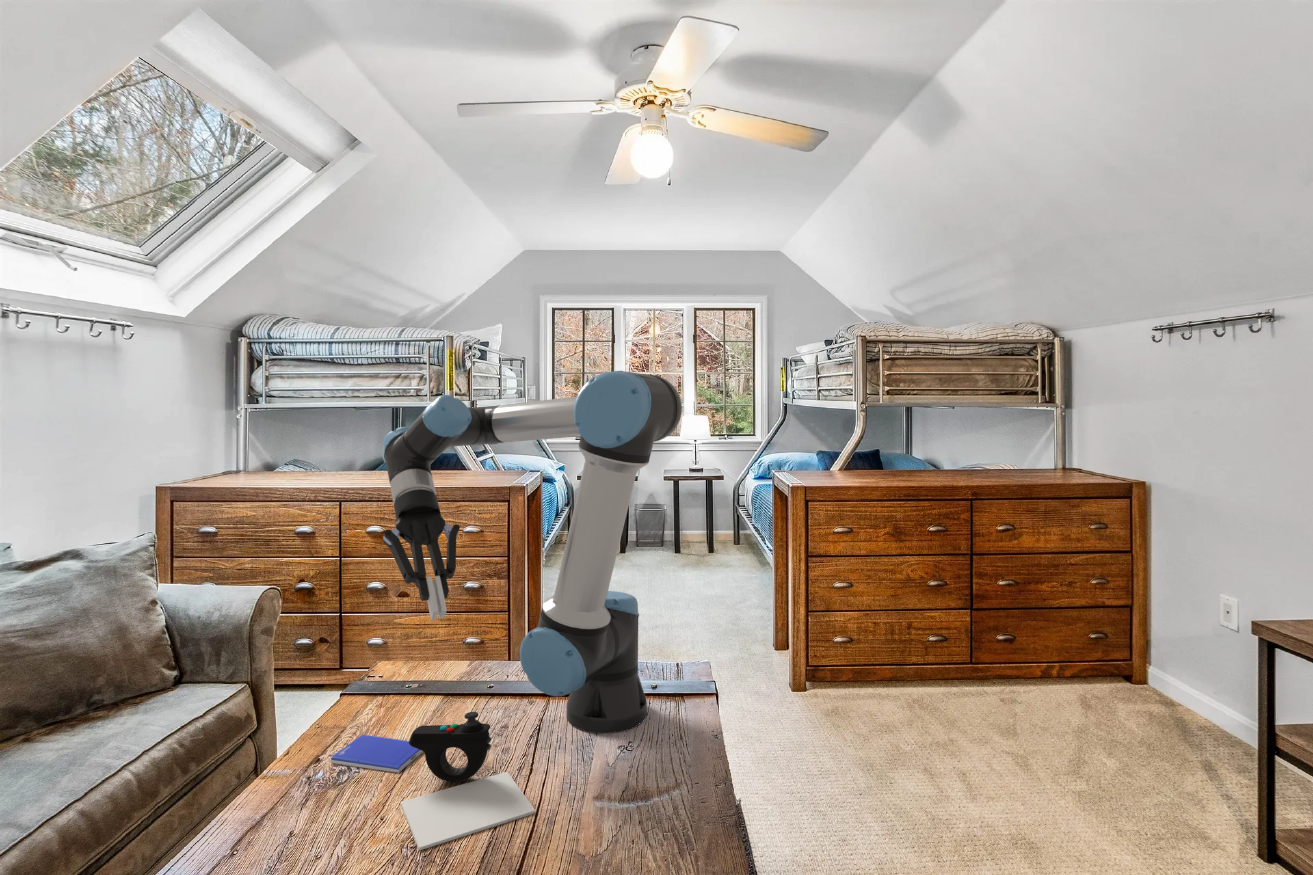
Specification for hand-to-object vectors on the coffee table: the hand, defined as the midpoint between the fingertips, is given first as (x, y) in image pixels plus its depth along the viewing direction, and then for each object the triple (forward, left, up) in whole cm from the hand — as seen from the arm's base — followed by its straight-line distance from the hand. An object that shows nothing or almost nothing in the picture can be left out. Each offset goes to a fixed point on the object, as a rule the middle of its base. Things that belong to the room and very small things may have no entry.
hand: (438, 615), depth 110 cm
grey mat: (0, +16, -24) cm, 29 cm away
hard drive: (+8, -7, -25) cm, 27 cm away
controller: (0, +7, -24) cm, 25 cm away
